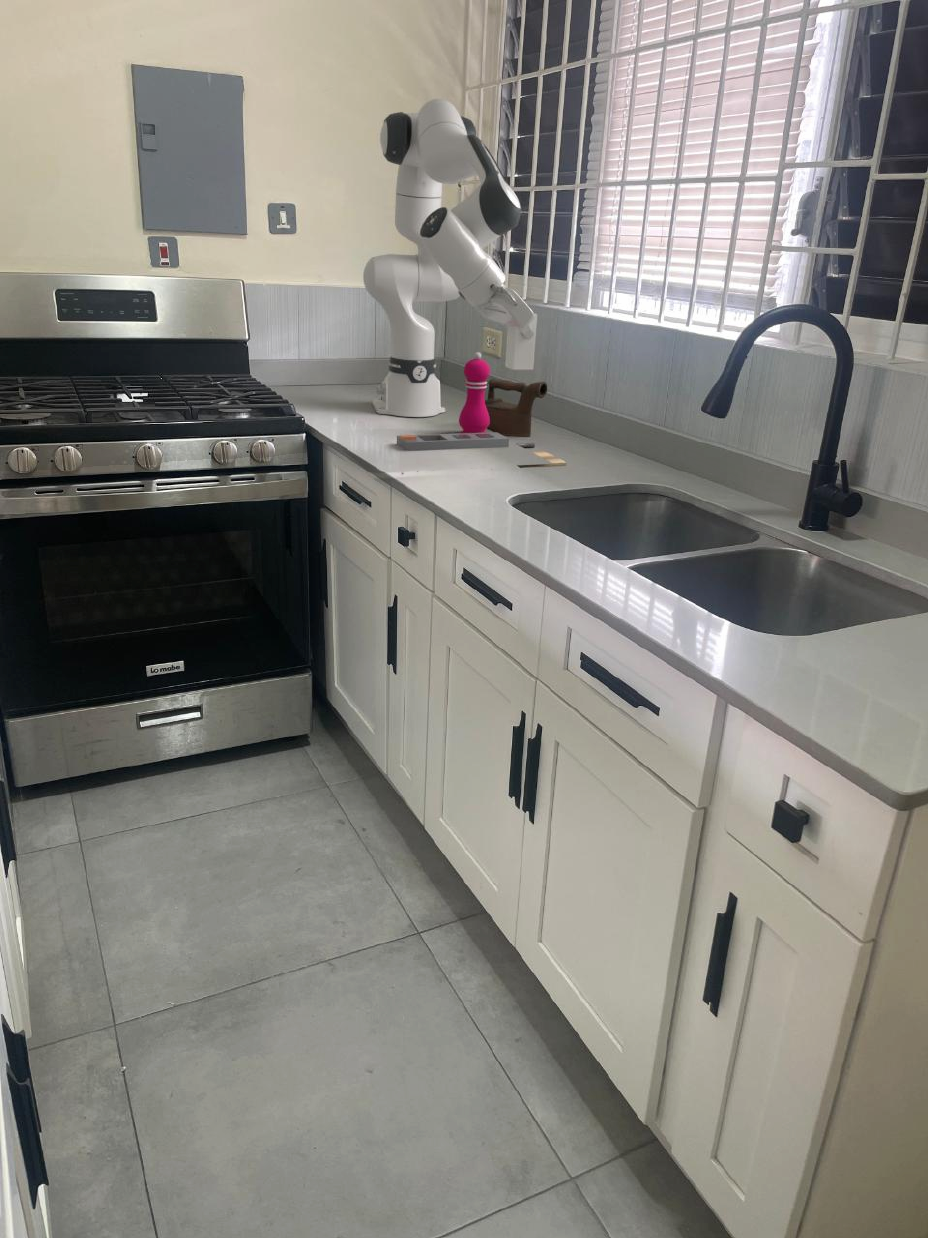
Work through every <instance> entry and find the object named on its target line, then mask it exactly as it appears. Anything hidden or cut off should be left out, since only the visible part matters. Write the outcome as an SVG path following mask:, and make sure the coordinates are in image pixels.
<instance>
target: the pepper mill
mask: <svg viewBox="0 0 928 1238" xmlns="http://www.w3.org/2000/svg"><path fill="white" fill-rule="evenodd" d="M490 374H491V369H490V365H489V364H488V363H487V361H485V360H483V359H482V353H481V352H479V351H477V352H476V351H475V352H474V354H473V359H470V360H468V361H466V364H465V365H464V367H463V375H464V377H465V378H466V380H465V388H466V400H465V403H464V406H463V408H462V409H461V412H460V414H459V418H458V424H459V426H460V427H461V428H462V430H461V431H460V433H487V431H486V430H487V427H488V426H489V424H490V418H489V413H488V411H487V408H486V405H485V393H486V392H485V391H486V389H487V387H488V386H487V384H488V381H487V379H488V378H489V377H490ZM460 433H459V434H460Z"/></svg>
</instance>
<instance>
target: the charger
mask: <svg viewBox="0 0 928 1238" xmlns="http://www.w3.org/2000/svg"><path fill="white" fill-rule="evenodd" d="M534 316H535V318H534V319H533V320H532V321H531V322H530V323H529V327H530V329H531V330H532V331H533V333H534V336H533V337H532V338H531V339H530V340H527V339H525V338H524V337H523V336H522V334H521V331H520V330H519V329H518V328H517V327H514V326H510V325H508V327H507V328H506V344H505V345H506V346H505V347H506V348H505V361H504V363H505V364H504V367H505V368H508V369H509V370H510V369H511V370H513V371H516V370H518V371H523V370H524V371H525V370H527V371H531V370H532V371H534V365H535V364H534V363H535V354H536V353H535V352H536V338H537V324H538V314H537V313H534Z"/></svg>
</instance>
